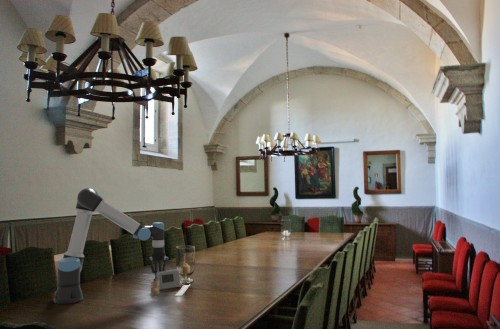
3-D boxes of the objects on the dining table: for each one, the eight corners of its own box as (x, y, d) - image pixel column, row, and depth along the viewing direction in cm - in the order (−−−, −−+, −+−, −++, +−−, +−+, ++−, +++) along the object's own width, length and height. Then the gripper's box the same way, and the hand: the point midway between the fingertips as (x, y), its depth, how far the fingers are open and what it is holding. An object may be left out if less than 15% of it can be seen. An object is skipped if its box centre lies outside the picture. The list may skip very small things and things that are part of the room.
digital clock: (157, 291, 251) (158, 273, 251) (153, 286, 259) (154, 270, 259) (182, 288, 259) (183, 271, 259) (177, 284, 267) (178, 268, 267)
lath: (174, 296, 238) (174, 295, 238) (185, 283, 274) (185, 282, 274) (181, 296, 238) (181, 295, 238) (191, 283, 273) (191, 282, 274)
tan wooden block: (150, 295, 241) (150, 279, 242) (152, 293, 245) (152, 278, 246) (157, 295, 241) (157, 279, 242) (159, 293, 245) (159, 278, 246)
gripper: (146, 247, 258) (146, 285, 257) (167, 247, 258) (167, 285, 256) (149, 246, 266) (149, 282, 264) (169, 245, 266) (169, 282, 264)
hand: (158, 284), depth 260 cm, fingers closed
